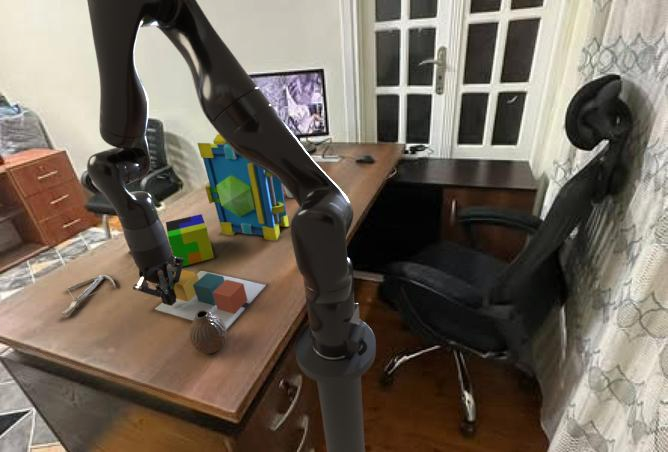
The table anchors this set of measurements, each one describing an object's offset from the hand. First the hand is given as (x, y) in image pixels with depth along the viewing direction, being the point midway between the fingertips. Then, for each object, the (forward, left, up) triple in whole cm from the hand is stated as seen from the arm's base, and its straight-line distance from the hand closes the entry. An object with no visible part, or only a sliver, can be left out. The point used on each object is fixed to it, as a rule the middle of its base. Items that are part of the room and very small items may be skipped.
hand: (171, 303), depth 83 cm
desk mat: (-7, -6, -2) cm, 9 cm away
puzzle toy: (+12, -20, -2) cm, 23 cm away
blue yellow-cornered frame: (+2, -38, -2) cm, 38 cm away
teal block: (-7, -6, -1) cm, 10 cm away
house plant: (+5, -66, -2) cm, 66 cm away
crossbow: (+26, +4, -2) cm, 26 cm away
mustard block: (0, -5, -1) cm, 5 cm away
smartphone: (+25, -17, -2) cm, 30 cm away
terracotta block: (-14, -5, -1) cm, 15 cm away
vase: (-17, +6, -2) cm, 18 cm away
